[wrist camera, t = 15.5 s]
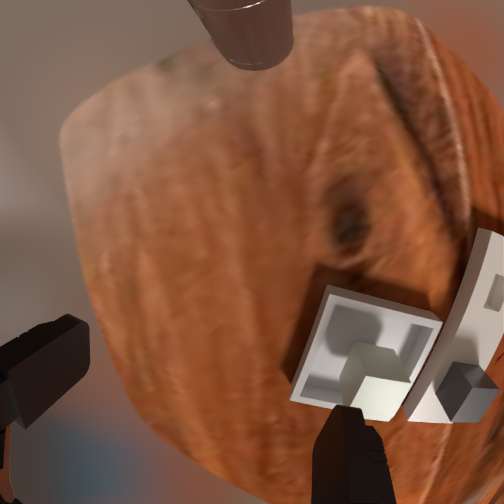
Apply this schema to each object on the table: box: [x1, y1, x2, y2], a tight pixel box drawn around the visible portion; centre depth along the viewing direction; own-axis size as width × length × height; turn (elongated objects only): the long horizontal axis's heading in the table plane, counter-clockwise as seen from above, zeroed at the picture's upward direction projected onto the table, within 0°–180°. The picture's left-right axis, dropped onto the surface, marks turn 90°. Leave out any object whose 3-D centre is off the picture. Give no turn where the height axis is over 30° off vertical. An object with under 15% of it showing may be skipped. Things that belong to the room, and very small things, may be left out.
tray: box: [290, 284, 443, 418], centre depth 35 cm, size 15×15×4 cm
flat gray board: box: [402, 227, 504, 423], centre depth 32 cm, size 28×9×4 cm, turn 166°
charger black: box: [435, 361, 500, 422], centre depth 30 cm, size 5×5×9 cm
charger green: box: [339, 341, 412, 421], centre depth 31 cm, size 5×5×10 cm
